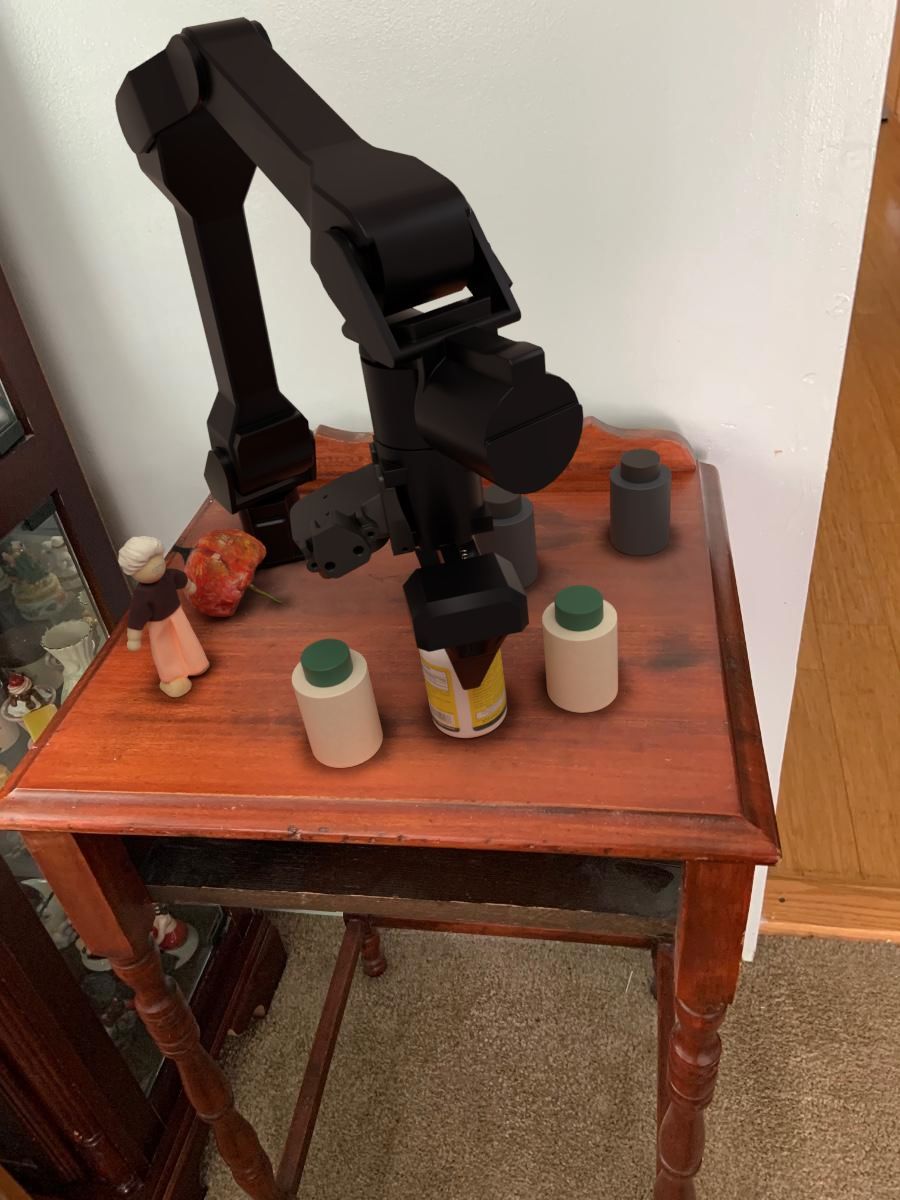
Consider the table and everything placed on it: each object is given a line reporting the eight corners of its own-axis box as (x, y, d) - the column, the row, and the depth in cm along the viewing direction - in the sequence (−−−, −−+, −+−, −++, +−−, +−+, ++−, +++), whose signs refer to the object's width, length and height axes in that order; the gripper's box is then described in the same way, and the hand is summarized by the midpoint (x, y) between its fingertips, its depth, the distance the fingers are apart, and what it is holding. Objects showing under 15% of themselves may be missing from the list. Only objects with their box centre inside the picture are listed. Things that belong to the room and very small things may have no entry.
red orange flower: (284, 596, 82) (186, 538, 80) (312, 551, 77) (208, 488, 75) (248, 655, 77) (143, 595, 75) (276, 611, 72) (164, 545, 70)
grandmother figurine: (190, 708, 68) (135, 569, 60) (144, 705, 69) (84, 568, 61) (230, 642, 74) (184, 509, 66) (187, 640, 75) (138, 508, 67)
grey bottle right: (602, 531, 81) (601, 450, 76) (656, 519, 81) (658, 438, 76) (622, 560, 77) (621, 477, 72) (678, 548, 77) (681, 465, 72)
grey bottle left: (473, 564, 79) (463, 484, 74) (529, 553, 79) (523, 472, 74) (486, 597, 75) (477, 514, 70) (545, 584, 75) (539, 501, 70)
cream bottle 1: (309, 725, 65) (284, 638, 60) (378, 709, 65) (358, 622, 61) (314, 775, 61) (288, 687, 56) (387, 758, 61) (367, 670, 57)
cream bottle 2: (538, 673, 66) (531, 585, 62) (604, 659, 67) (602, 570, 62) (558, 719, 62) (552, 629, 58) (628, 703, 63) (628, 612, 58)
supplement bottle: (509, 686, 66) (498, 576, 60) (505, 740, 61) (492, 627, 56) (436, 687, 67) (417, 579, 61) (426, 741, 62) (405, 630, 56)
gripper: (275, 390, 57) (324, 589, 67) (290, 542, 42) (351, 771, 52) (446, 358, 58) (471, 558, 68) (520, 495, 43) (540, 728, 53)
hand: (456, 642), depth 60 cm, fingers open, 9 cm apart
